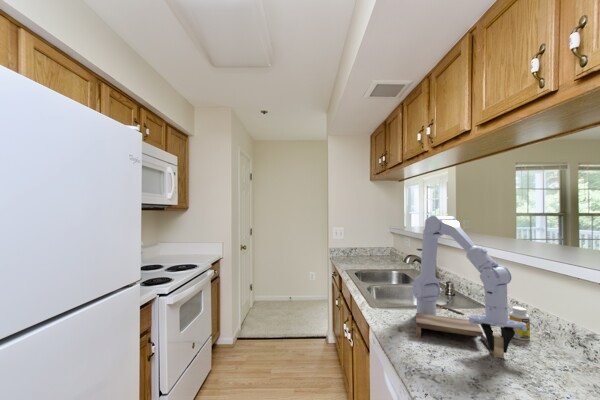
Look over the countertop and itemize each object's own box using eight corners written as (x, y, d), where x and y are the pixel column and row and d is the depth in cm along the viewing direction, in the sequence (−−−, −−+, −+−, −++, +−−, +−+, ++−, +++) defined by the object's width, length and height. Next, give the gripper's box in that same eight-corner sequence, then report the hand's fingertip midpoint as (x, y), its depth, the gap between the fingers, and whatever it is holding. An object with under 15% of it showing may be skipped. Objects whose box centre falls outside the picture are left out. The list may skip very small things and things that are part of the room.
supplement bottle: (523, 342, 93) (522, 311, 93) (506, 335, 98) (505, 306, 99) (534, 339, 95) (533, 309, 95) (516, 332, 100) (515, 304, 101)
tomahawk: (472, 315, 120) (472, 312, 120) (461, 316, 117) (461, 313, 117) (434, 302, 138) (434, 299, 138) (424, 302, 135) (424, 299, 135)
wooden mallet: (478, 337, 96) (478, 320, 96) (489, 339, 95) (488, 321, 95) (494, 356, 83) (494, 336, 84) (506, 358, 82) (506, 338, 83)
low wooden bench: (416, 325, 106) (415, 312, 106) (476, 335, 98) (475, 320, 98) (416, 336, 97) (416, 322, 97) (482, 347, 89) (482, 332, 89)
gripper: (471, 306, 84) (472, 351, 83) (530, 313, 78) (531, 361, 78) (467, 299, 90) (468, 341, 90) (521, 305, 85) (522, 350, 84)
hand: (497, 350), depth 84 cm, fingers closed on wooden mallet, 3 cm apart
